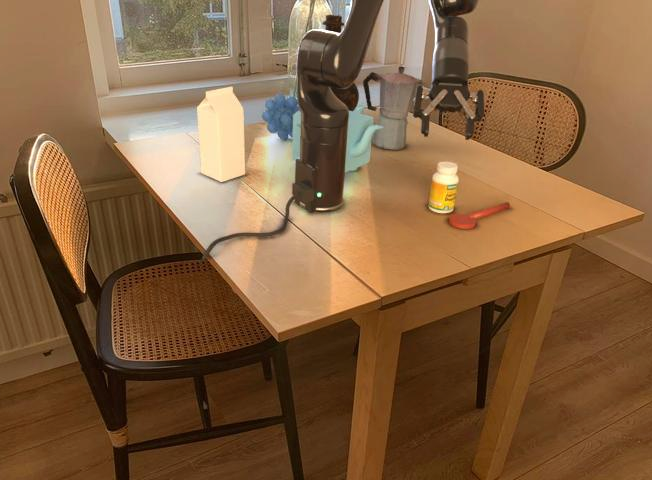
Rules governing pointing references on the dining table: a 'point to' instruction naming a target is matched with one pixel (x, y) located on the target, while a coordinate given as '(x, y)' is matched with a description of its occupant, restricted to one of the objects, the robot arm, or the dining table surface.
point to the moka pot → (392, 106)
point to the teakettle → (356, 138)
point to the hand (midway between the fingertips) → (447, 136)
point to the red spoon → (474, 216)
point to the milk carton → (221, 135)
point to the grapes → (280, 115)
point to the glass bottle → (351, 93)
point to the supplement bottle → (444, 188)
